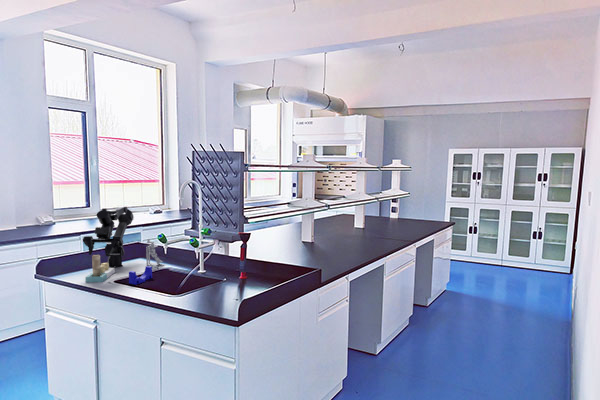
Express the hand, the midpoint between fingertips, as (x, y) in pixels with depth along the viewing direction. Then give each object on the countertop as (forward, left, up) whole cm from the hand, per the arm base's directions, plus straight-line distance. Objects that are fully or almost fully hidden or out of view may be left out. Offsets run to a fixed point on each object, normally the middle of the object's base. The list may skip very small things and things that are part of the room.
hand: (99, 254), depth 202 cm
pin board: (0, -1, -12) cm, 12 cm away
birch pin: (+2, +3, -12) cm, 13 cm away
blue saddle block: (-16, +18, -12) cm, 27 cm away
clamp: (-31, -9, -12) cm, 34 cm away
